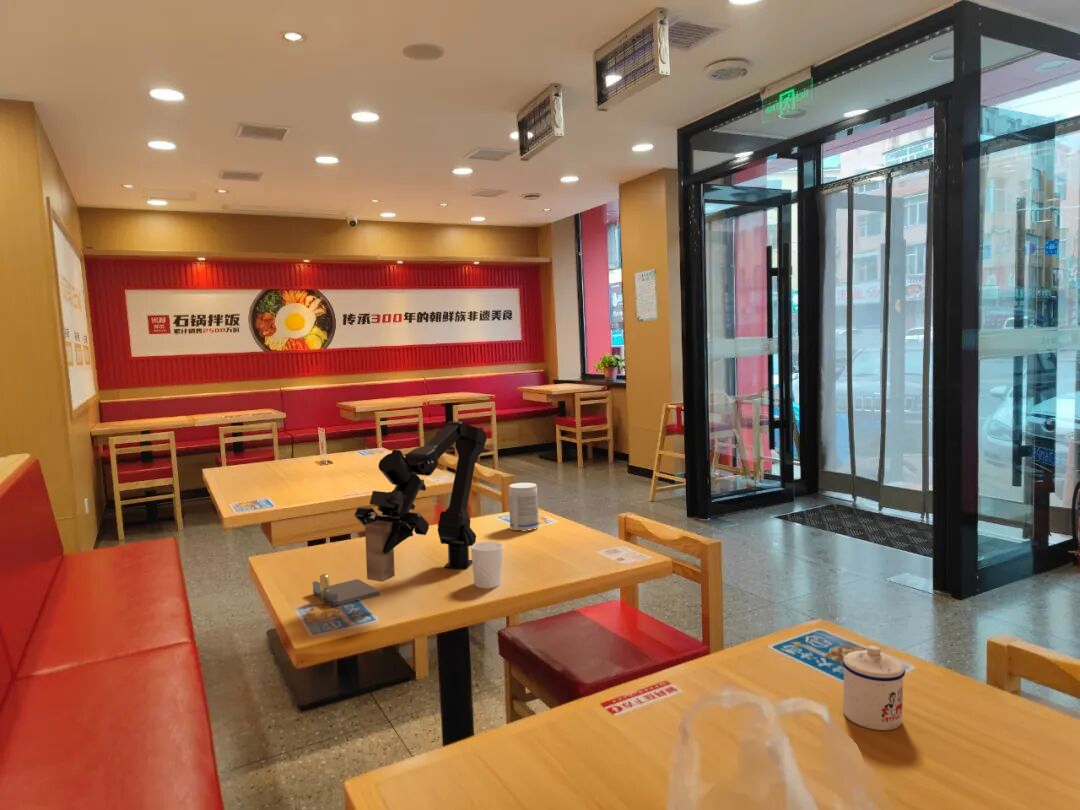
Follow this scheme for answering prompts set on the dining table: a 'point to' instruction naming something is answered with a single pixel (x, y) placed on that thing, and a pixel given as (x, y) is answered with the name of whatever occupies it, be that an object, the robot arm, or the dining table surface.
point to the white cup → (487, 564)
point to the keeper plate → (342, 590)
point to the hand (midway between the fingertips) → (376, 551)
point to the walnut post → (378, 551)
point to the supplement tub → (523, 506)
